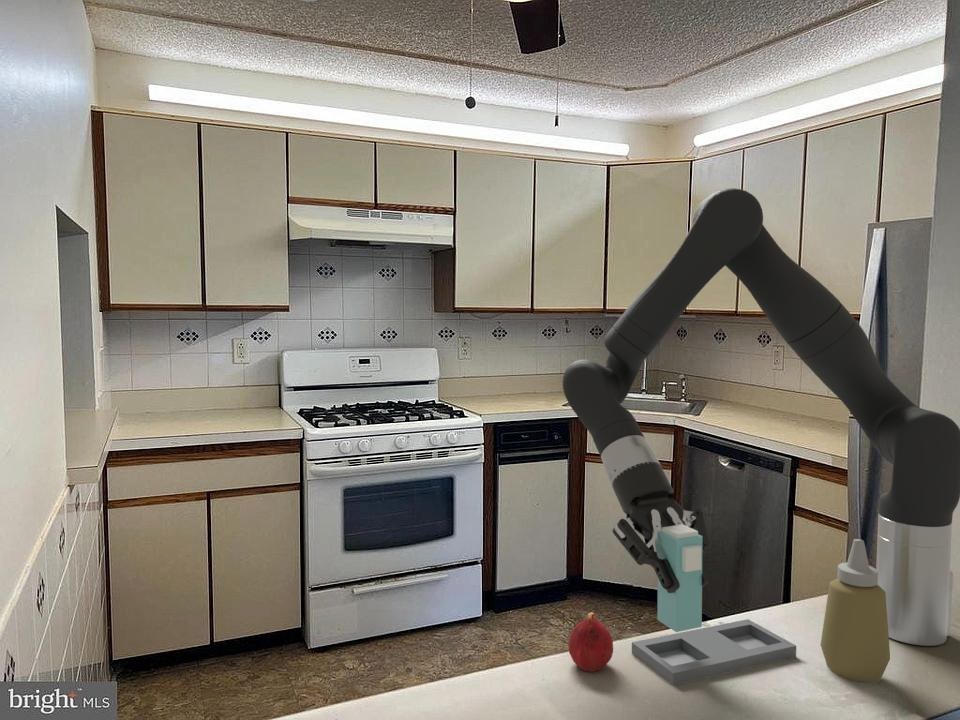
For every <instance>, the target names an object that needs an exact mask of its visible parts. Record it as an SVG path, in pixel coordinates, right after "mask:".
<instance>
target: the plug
mask: <svg viewBox="0 0 960 720" xmlns="http://www.w3.org/2000/svg"><path fill="white" fill-rule="evenodd" d="M685 525H686V524H684V525H675V526H668V527H662V531H658V533H659V535H660V538H661V545H662V547H663V549H664V551H665V556H666V557H665V560H668V561H669V563H670V565H671V567H672V569H673V572H674V574H675V576H676V578H677V579H678V581H679V584H680V587H679V589H677V590H676V591H675V592H674V593H668V592H667V590H666V589H664V588H663V587H662V585H661V583H660V581H659V579H658V578H657V615H656V616H657V621H658V622H660V623H662V624H663V625H664V626H666V627H668V628H669V629H671V630H672V631H674V632H675V633H681V632H685V631H690V630H695V629H699V628H701V627H702V625H703V622H702V621H703V620H702V619H703V618H702V617H703V616H702V615H703V587H702V561H703V552H702V536H701V535H699V534H698V531H697V530H694V529H692V528H689V527H687V526H685ZM702 628H703V627H702Z"/></svg>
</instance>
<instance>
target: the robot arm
mask: <svg viewBox="0 0 960 720" xmlns="http://www.w3.org/2000/svg"><path fill="white" fill-rule="evenodd" d="M763 222H764V212H763V209H762V206H761V204H760V202H759V200H758V199H757V197H756V196H755V195H753V194H752V193H750V192H748V191H747V190H744V189H741V188H734V187H731V188H729V187H728V188H723V189H720V190H716V191H715V192H713V193H711V194H709V195H708V196H706V197H705V198H704V199H703V200H701V202H699V204H698V205H697V207H696V208H695V211H694V213H693V219H692V226H691V228H690V230H688V233H687V235H686V236H685V238H684V239H683V241H682V243H681V244H680V246H679V248H678V249H677V250H676V252H675V253H674V254H673V256H672V257H671V259H670V260H669V261H668V263H667V264H666V265H665V266H664V267H663V268H662V270H661V271H660V272H659V273H658V274H657V275H656V276H655V277H654V278H653V279H652V281H651V282H650V283H649V284H648V285H647V286H646V287H644V289H643V290H642V291H641V292H640V293H639V294H638V296H636V298H635V299H634V300H633V301H632V302H631V304H629V306H628V307H627V308H626V309H625V311H624V312H623V313H622V314H621V315H620V317H619V318H618V319H617V320H616V322H615V323H614V325H613V326H612V327H611V328H610V329H609V331H608V332H607V334H606V335H605V337H604V340H603V342H604V347H605V348H606V350H607V351H608V352H609V354H608V356H607V359H606V361H605V363H604V365H602V364H599V363H597V362H595V361H592V360H590V359H576V360H575V361H573V362H572V363H570V364H569V365H568V366H567V367H566V369H565V371H564V373H563V376H562V390H563V393H564V396H565V399H566V401H567V403H568V405H569V406H570V407H571V409H572V411H573V412H574V413H575V415H576V416H577V418H578V419H579V421H580V422H581V423H582V425H583V426H584V427H585V428H586V429H587V431H588V432H589V435H591V438H592V440H593V441H592V442H593V443H594V445H595V448H596V450H597V452H598V454H599V456H600V458H601V461H602V464H603V468H604V471H605V474H606V476H607V478H608V480H609V482H610V485H611V487H612V490H613V492H614V494H615V496H616V498H617V501H618V502H619V505H620V507H621V510H622V511H623V513H624V514H625V515H626V518H620V519H619V521H618V522H617V523H616V525H615V526H614V527H613V529H612V533H613V535H614V536H615V537H616V539H617V540H618V541H619V542H620V543H621V545H622V546H623V548H625V550H626V551H627V552H628V554H629V556H631V557H632V559H633V560H634V561H635V562H636V564H637V565H639V566H643V565H649V566H650V567H652V568H653V570H654V572H655V575H656V577H657V580H658V579H659V581H660V583H661V585H662V587H663V588H664V589H666V590H667V592H668V593H674V592H675V591H676V590H677V589H679V587H680V584H679V581H678V579H677V578H676V576H675V574H674V572H673V569H672V567H671V565H670V563H669V561H668V560H665V557H666V556H665V551H664V549H663V547H662V545H661V538H660V535H659V533H658V531H662V527H668V526H675V525H685V526H687V527H689V528H692V529H694V530H697V531H698V534H699V535H701V536H702V553H704V551H705V550H706V549H708V547H710V543H709V539H708V533H707V528H706V524H705V519H704V518H705V517H704V514H703V511H702V509H699V508H695V509H694V510H693V511H692V510H691V511H690V510H685V509H683V507H682V506H681V505H680V504H679V503H678V502H677V501H676V499H675V495H674V489H673V487H672V485H671V483H670V480H669V479H668V477H667V475H666V473H665V471H664V470H663V467H662V465H661V463H660V461H659V460H658V458H657V455H656V453H655V451H654V449H652V446H650V444H649V443H648V440H647V439H646V438H645V436H644V433H643V431H642V429H641V428H640V426H639V424H638V421H636V418H635V417H634V415H633V414H632V412H631V411H629V410H628V409H627V408H625V407H624V406H623V405H622V403H623V402H624V401H625V399H626V398H627V396H628V395H629V392H630V391H631V389H632V387H633V384H634V383H635V380H636V378H637V376H638V374H639V373H640V370H641V368H642V365H643V363H644V362H645V360H646V359H647V358H648V357H649V356H650V354H651V353H652V352H653V351H654V350H655V348H656V347H657V346H658V345H659V343H660V342H661V341H662V340H663V338H664V337H665V336H666V335H667V333H668V332H669V331H670V330H671V328H672V327H673V326H674V325H675V324H676V321H678V319H679V318H680V317H681V316H682V314H683V313H684V311H686V309H687V308H688V306H689V305H690V304H691V302H692V301H693V300H694V299H695V298H696V296H697V295H698V294H699V293H700V292H701V291H702V289H704V287H705V286H706V285H707V284H708V283H709V282H710V281H711V280H712V279H713V278H714V276H716V275H717V274H718V273H719V272H720V271H721V270H722V269H723V268H724V267H726V268H727V269H728V270H729V271H731V273H732V274H733V275H735V277H736V278H737V279H738V280H739V281H740V282H741V283H742V284H743V286H744V287H746V289H747V290H748V291H749V293H750V294H751V296H752V297H753V299H754V300H755V302H756V303H757V304H758V307H759V309H761V311H762V312H763V314H764V315H765V316H766V318H767V319H768V320H769V323H771V324H772V325H773V327H774V328H775V330H776V331H777V332H778V333H779V334H780V336H781V337H782V339H783V340H784V341H785V342H786V343H787V345H788V346H789V347H790V348H791V349H792V351H793V352H795V354H796V356H798V357H799V359H800V360H801V361H803V364H805V365H806V367H808V368H809V369H810V370H811V372H813V374H815V376H816V377H817V378H818V379H819V380H820V381H821V382H822V383H823V384H824V385H825V386H826V387H827V388H828V389H829V390H830V391H831V392H832V393H833V394H834V395H835V396H836V397H837V398H838V399H839V400H840V401H841V402H842V403H843V405H844V406H845V407H846V409H847V410H848V411H849V412H850V413H851V415H852V417H853V418H854V419H855V421H856V422H857V424H858V426H860V428H861V429H862V431H863V432H864V434H865V436H866V437H867V438H868V440H869V441H870V443H871V444H872V446H873V447H874V448H875V450H876V451H877V452H878V454H879V455H880V456H881V457H883V459H884V460H886V461H887V462H888V463H890V464H892V475H891V484H890V488H889V490H888V491H887V492H884V493H882V494H881V495H880V497H879V500H878V515H877V516H878V517H877V540H876V541H877V542H876V563H875V564H876V566H875V567H876V568H875V569H876V570H877V571H878V585H879V586H880V587H881V588H882V589H883V590H884V591H885V592H886V606H887V620H888V633H889V639H892V640H895V641H898V642H902V643H906V644H910V645H915V646H924V647H925V646H926V647H928V646H929V647H933V646H941V645H943V644H944V643H945V644H946V641H947V638H948V636H949V637H950V636H951V631H952V629H951V628H952V609H953V608H952V607H953V590H954V589H953V588H954V573H953V571H952V570H951V555H952V554H951V552H952V533H953V532H952V530H953V514H954V512H955V510H956V508H957V507H958V505H959V501H960V427H959V425H958V424H957V423H956V422H955V421H954V420H953V419H952V418H950V417H948V416H946V415H945V414H942V413H939V412H936V411H933V410H932V411H931V410H928V409H924V408H922V407H920V406H918V405H916V404H915V403H914V402H913V401H912V400H910V398H908V397H907V395H905V394H904V393H903V392H902V391H901V389H900V388H898V387H897V386H896V384H894V383H893V382H892V381H891V379H890V378H889V377H888V375H886V373H885V372H884V370H883V368H882V367H881V365H880V364H879V361H878V359H877V356H876V354H875V352H874V349H873V347H872V345H871V342H870V340H869V338H868V336H867V334H866V332H865V331H864V329H863V327H862V326H861V325H860V323H859V322H858V321H857V319H855V317H854V316H853V315H852V313H851V312H850V311H849V310H848V309H847V308H846V307H845V305H844V304H842V303H843V302H841V301H840V300H839V299H838V297H836V296H835V294H833V293H832V292H831V291H830V290H829V289H828V288H827V287H826V286H825V285H824V284H822V283H821V282H820V281H819V280H818V279H817V278H816V277H814V276H813V275H812V274H810V273H809V272H808V271H807V270H805V268H803V267H801V266H800V265H799V264H798V263H797V262H795V261H794V260H793V259H792V258H791V257H789V255H787V254H786V252H784V250H783V249H782V248H781V247H780V246H779V245H778V243H777V242H776V240H775V239H774V238H773V237H772V235H771V234H770V232H769V231H768V230H767V228H766V227H765V226H764V223H763ZM640 535H641V537H642V538H641V537H640ZM709 582H710V573H709V570H708V569H707V567H706V565H705V563H704V560H702V588H704V587H705V586H706V585H708V583H709Z"/></svg>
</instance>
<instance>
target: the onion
mask: <svg viewBox="0 0 960 720" xmlns="http://www.w3.org/2000/svg"><path fill="white" fill-rule="evenodd" d="M568 652H569V655H570V658H571V659H572V661H573V663H574V664H575V665H576V666H577V667H578V668H580V669H581V670H583V671H584V672H585V671H586V672H591V673H593V672H598V671H600V670H602V669H603V668H604V667H605V666H606V665H608V663H609V662H610V660H611V659H612V657H613V653H614V641H613V637H612V634H611V632H610V631H609V630H608V628H607V627H606V626H605V625H604V624H603V623H602V622H601V621H599V620H598V619H597V614H595V613H594V612H593V611H592V612H589V613H587V616H586V618H585V619H584V620H582V621H580V622H578V623H577V624H576V625H575V626H574V628H573V629H572V630H571V632H570V635H569V639H568Z"/></svg>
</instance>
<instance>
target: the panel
mask: <svg viewBox="0 0 960 720" xmlns="http://www.w3.org/2000/svg"><path fill="white" fill-rule="evenodd" d="M631 654H632V655H633V656H634V657H635V658H637V659H638V660H639V661H641V662H642V663H643V664H644V665H645V666H647V667H649V668H650V669H651V670H653V671H654V672H655V673H656V674H658V675H659V676H660V677H662V678H663V679H664V680H666V682H668V683H669V684H670V685H672V686H676V685H677V686H678V685H681V684H684V683H691V682H693V681H694V682H695V681H698V680H703V679H706V678H711V677H715V676H720V675H723V674H728V673H732V672H737V671H742V670H746V669H750V668H753V667H758V666H762V665H768V664H770V663H771V664H772V663H776V662H780V661H785V660H788V659H792V658H797V645H796V644H794V643H793V642H790V641H789V640H786V639H785V638H783V637H782V636H780V635H778V634H776V633H774V632H772V631H771V630H769V629H767V628H765V627H763V626H762V625H759V624H758V623H755V622H754V621H752V620H750V619H748V618H747V619H743V620H737V621H733V622H727V623H722V624H717V625H713V626H712V625H711V626H708V627H707V626H706V627H702V628H701V627H700V628H695V629H690V630H685V631H680V632H675V633H672V634H666V635H662V636H656V637H650V638H647V639H643V640H642V639H641V640H637V641H632V642H631Z"/></svg>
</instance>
